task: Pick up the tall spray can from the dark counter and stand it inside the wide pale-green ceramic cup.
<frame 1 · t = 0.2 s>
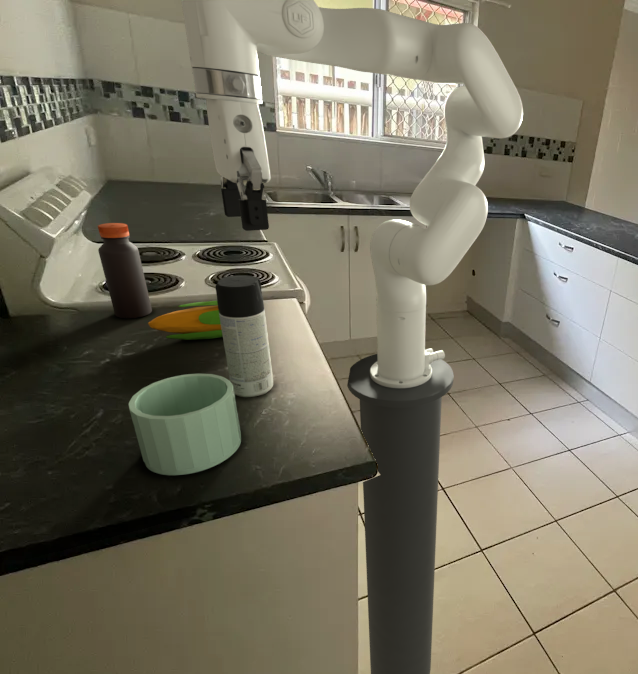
hand: (246, 222, 68), 30 cm above the worktop, tool pointing down, fingers open, 9 cm apart
bottle: (134, 314, 108), on the worktop
cup: (194, 448, 68), on the worktop
spray can: (253, 389, 84), on the worktop
corn: (208, 336, 101), on the worktop
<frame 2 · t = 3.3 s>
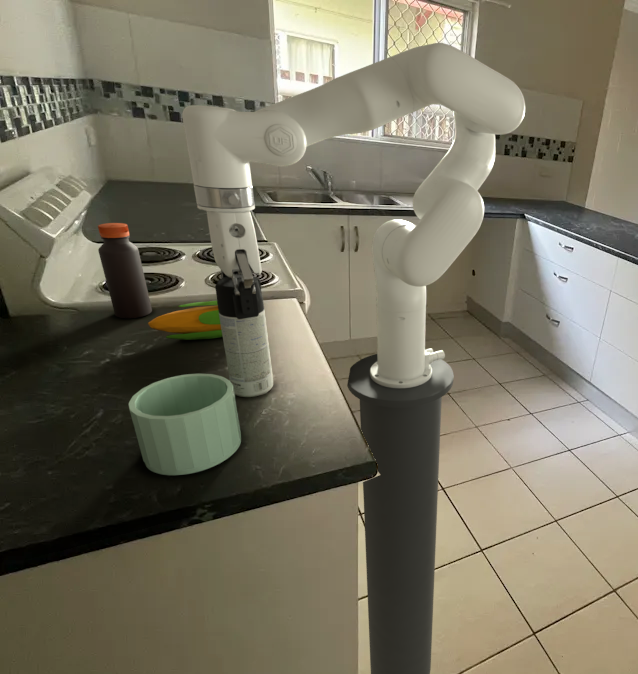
hand: (241, 308, 78), 15 cm above the worktop, tool pointing down, fingers closed on spray can, 6 cm apart
spray can: (253, 389, 84), on the worktop, touching gripper
everything else where it was.
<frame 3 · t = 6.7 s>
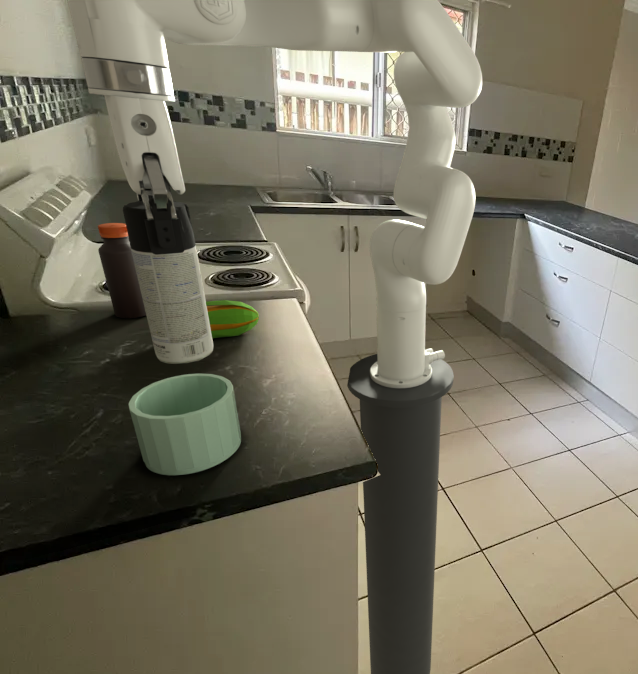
hand: (163, 244, 58), 29 cm above the worktop, tool pointing down, fingers closed on spray can, 6 cm apart
spray can: (186, 355, 65), point 14 cm above the worktop, touching gripper
everything else where it was.
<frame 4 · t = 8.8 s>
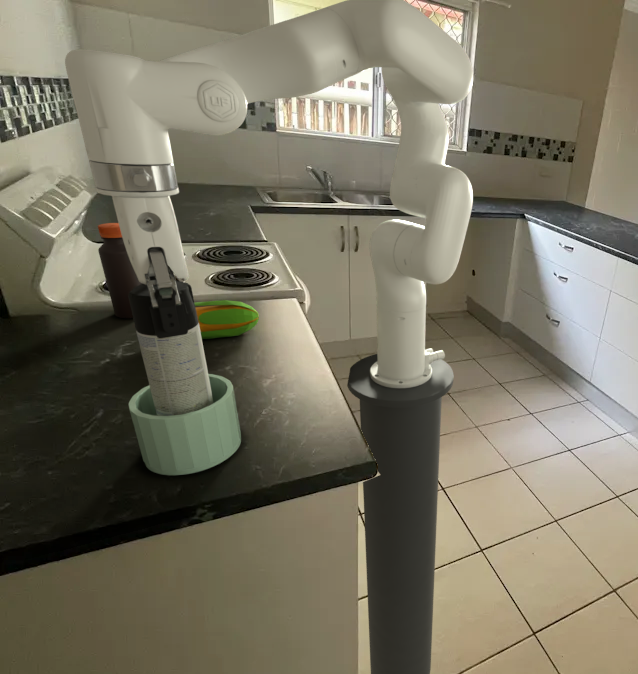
hand: (167, 323, 60), 19 cm above the worktop, tool pointing down, fingers closed on spray can, 6 cm apart
spray can: (189, 424, 66), point 4 cm above the worktop, touching gripper
everything else where it was.
when the fingers open (16 cm above the worktop, at t = 10.4 s): spray can stays where it is, resting on cup.
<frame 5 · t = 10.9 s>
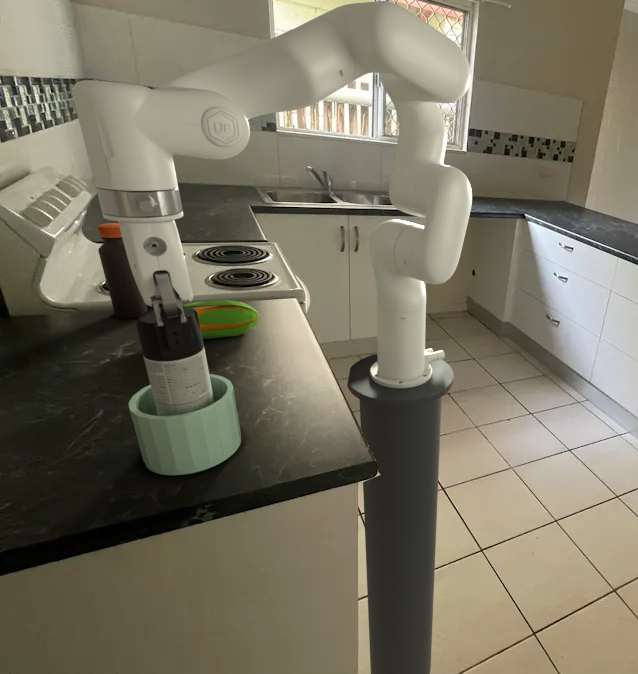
hand: (171, 338, 61), 17 cm above the worktop, tool pointing down, fingers open, 9 cm apart
spray can: (194, 444, 68), point 1 cm above the worktop, touching cup
everything else where it was.
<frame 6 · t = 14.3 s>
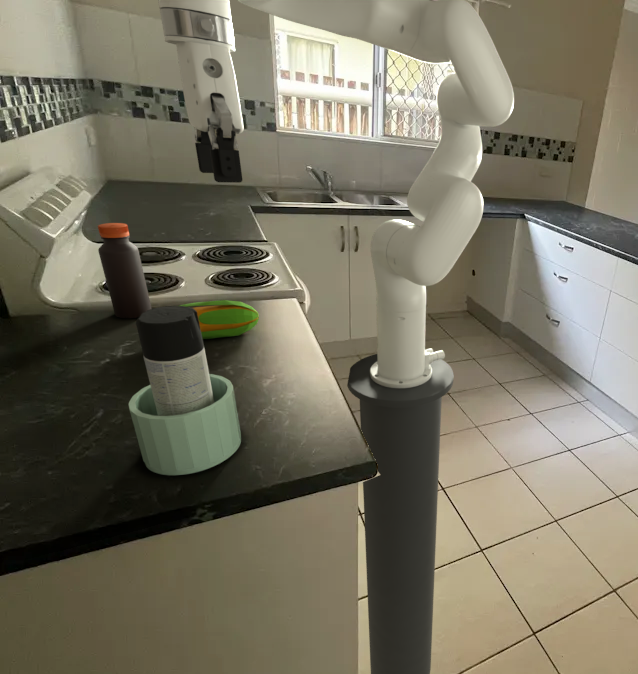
hand: (220, 177, 66), 36 cm above the worktop, tool pointing down, fingers open, 9 cm apart
nothing on the worktop moved.
at the end: spray can 0.1 cm off-centre in the cup, point 0.6 cm above the cup's base; spray can tilted 0°; the gripper is holding nothing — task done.
